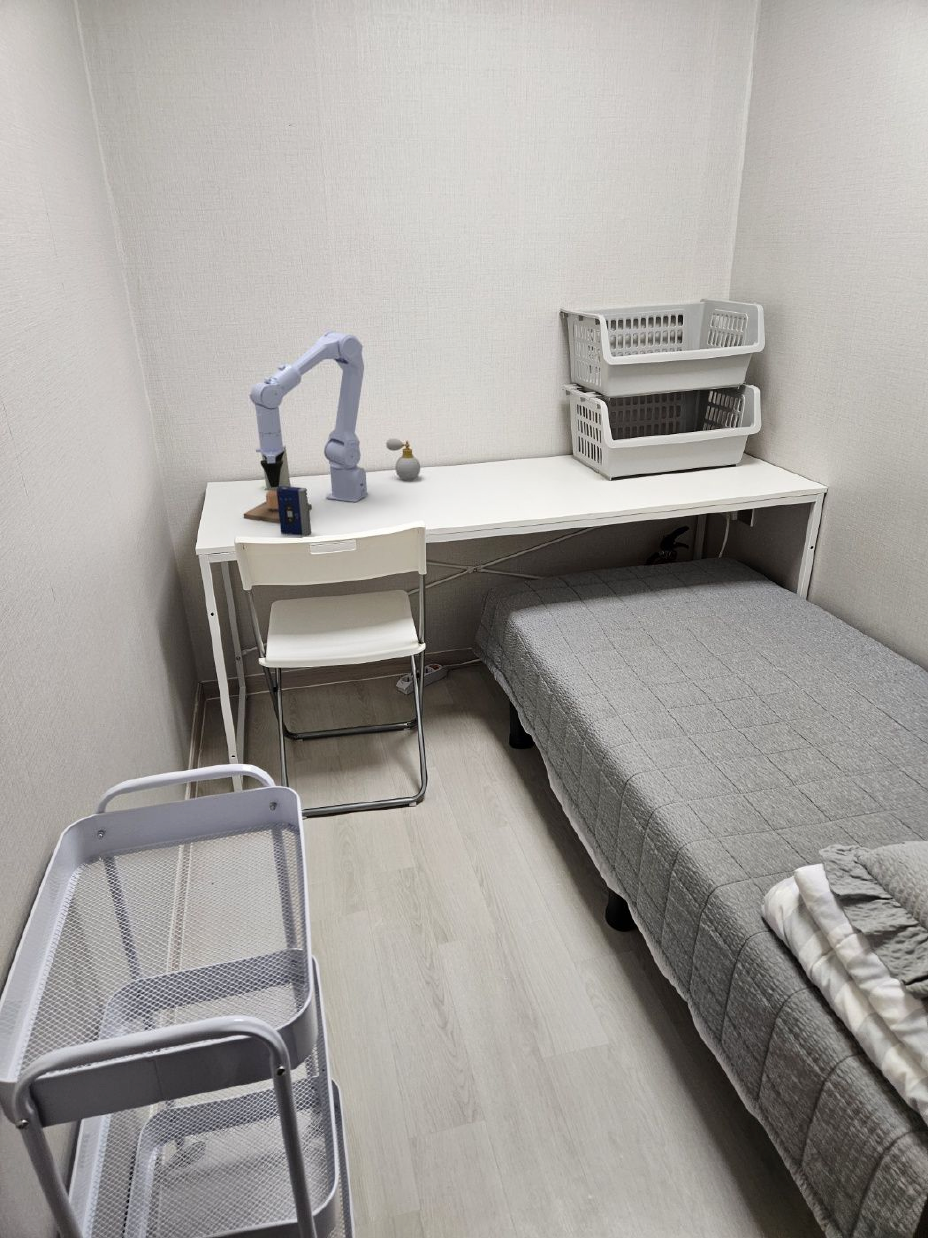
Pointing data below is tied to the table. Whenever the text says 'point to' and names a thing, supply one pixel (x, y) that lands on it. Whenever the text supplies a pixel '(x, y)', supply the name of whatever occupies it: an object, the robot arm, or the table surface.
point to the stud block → (265, 513)
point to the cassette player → (293, 510)
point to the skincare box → (283, 475)
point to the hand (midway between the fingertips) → (275, 482)
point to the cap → (272, 499)
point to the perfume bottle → (404, 460)
